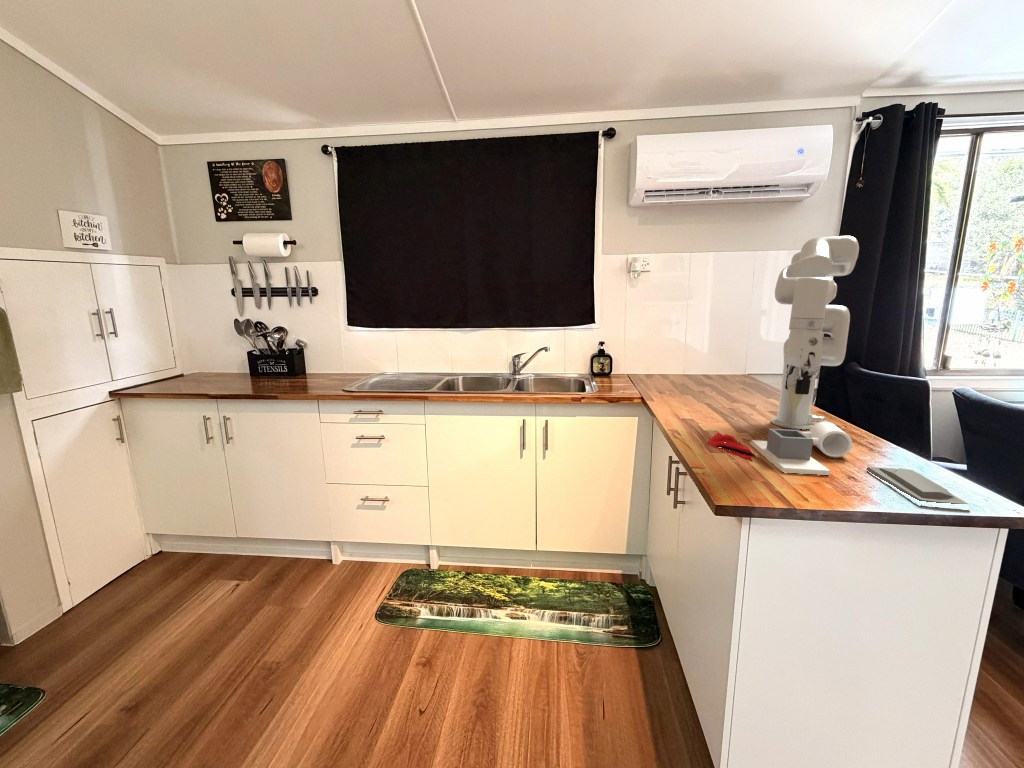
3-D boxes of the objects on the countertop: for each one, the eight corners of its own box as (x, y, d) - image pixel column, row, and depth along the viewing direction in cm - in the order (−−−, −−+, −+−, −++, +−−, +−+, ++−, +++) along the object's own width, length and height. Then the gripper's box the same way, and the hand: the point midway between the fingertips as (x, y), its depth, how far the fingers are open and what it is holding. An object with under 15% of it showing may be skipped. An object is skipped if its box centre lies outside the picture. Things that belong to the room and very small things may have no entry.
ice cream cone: (778, 411, 125) (785, 358, 121) (795, 410, 125) (802, 358, 122) (790, 416, 120) (798, 361, 116) (808, 415, 120) (816, 361, 117)
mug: (836, 447, 135) (840, 422, 133) (850, 459, 126) (854, 432, 124) (791, 443, 138) (795, 418, 137) (801, 454, 129) (805, 428, 127)
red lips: (700, 432, 150) (701, 426, 150) (745, 436, 146) (746, 430, 146) (711, 460, 126) (711, 452, 125) (765, 465, 122) (766, 458, 121)
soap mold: (909, 476, 115) (912, 464, 114) (970, 513, 96) (974, 498, 95) (865, 473, 117) (867, 460, 116) (915, 508, 98) (919, 494, 97)
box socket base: (789, 446, 135) (792, 423, 133) (829, 476, 114) (833, 448, 112) (751, 444, 136) (754, 421, 135) (783, 473, 115) (787, 445, 114)
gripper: (839, 327, 108) (828, 399, 112) (805, 322, 125) (796, 385, 129) (806, 327, 109) (796, 398, 113) (776, 322, 126) (768, 384, 130)
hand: (796, 391), depth 121 cm, fingers closed on ice cream cone, 5 cm apart
